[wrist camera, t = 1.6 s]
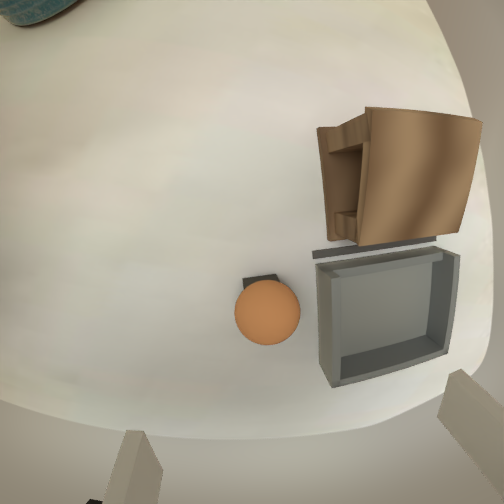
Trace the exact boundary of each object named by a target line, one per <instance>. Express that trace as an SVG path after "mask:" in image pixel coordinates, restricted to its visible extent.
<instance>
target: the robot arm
mask: <svg viewBox="0 0 504 504" xmlns="http://www.w3.org/2000/svg"><path fill="white" fill-rule="evenodd" d="M437 418H438V419H439V420H440V421H441V422H442V423H443V425H444V426H445V427H446V429H447V430H448V431H449V432H450V434H451V435H452V436H453V437H454V438H455V440H456V441H457V442H458V443H459V445H460V446H461V447H462V448H463V450H464V451H465V452H466V453H467V455H468V456H469V457H470V458H471V460H472V461H473V462H474V464H475V465H476V466H477V467H478V469H479V470H480V471H481V473H482V474H483V475H484V476H485V478H486V479H487V480H488V482H489V483H490V484H491V486H492V487H493V488H494V489H495V491H496V492H497V493H498V495H499V496H500V497H501V499H502V500H503V501H504V407H503V406H502V405H501V404H500V403H499V402H497V401H496V400H495V399H494V398H493V397H492V396H491V395H490V394H489V393H488V392H487V391H485V390H484V389H483V388H482V387H481V386H480V385H479V384H478V383H477V382H475V381H474V380H473V379H472V378H471V377H470V376H469V375H468V374H467V373H465V372H464V371H463V370H462V369H460V370H457V371H455V372H453V373H450V374H449V377H448V381H447V385H446V388H445V392H444V396H443V399H442V403H441V406H440V409H439V412H438V415H437ZM162 474H163V469H162V467H161V465H160V463H159V461H158V459H157V457H156V455H155V453H154V451H153V449H152V447H151V445H150V443H149V441H148V439H147V437H146V435H145V433H144V431H131V430H126V433H125V436H124V439H123V442H122V445H121V447H120V451H119V453H118V456H117V459H116V462H115V465H114V468H113V471H112V474H111V477H110V480H109V483H108V486H107V489H106V493H105V496H104V499H103V501H98V500H93V499H90V500H89V501H88V502H87V503H86V504H157V503H158V497H159V491H160V486H161V480H162Z"/></svg>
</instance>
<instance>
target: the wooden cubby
mask: <svg viewBox="0 0 504 504" xmlns="http://www.w3.org/2000/svg"><path fill="white" fill-rule="evenodd" d="M482 123H483V122H481V121H479V120H477V119H475V118H470V117H464V116H457V115H451V114H444V113H436V112H428V111H418V110H408V109H395V108H380V107H365V113H364V114H362V115H360V116H358V117H356V118H354V119H352V120H350V121H347V122H345V123H343V124H341V125H339V126H337V127H319V128H317V136H318V144H319V152H320V161H321V170H322V179H323V189H324V200H325V212H326V225H327V239H328V240H329V241H337V240H345V239H349V240H351V241H353V242H355V243H357V244H358V246H366V245H374V244H381V243H388V242H395V241H402V240H409V239H416V238H423V237H430V236H437V235H444V234H450V233H457V232H458V231H459V228H460V225H461V221H462V218H463V214H464V211H465V207H466V204H467V200H468V196H469V192H470V188H471V183H472V179H473V175H474V170H475V165H476V160H477V155H478V149H479V143H480V137H481V129H482Z"/></svg>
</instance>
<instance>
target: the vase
mask: <svg viewBox="0 0 504 504" xmlns="http://www.w3.org/2000/svg"><path fill="white" fill-rule="evenodd" d="M76 1H78V0H0V15H1V16H3V18H4V19H6V20H7V21H8V22H10V23H11V24H14V25H19V26H22V25H31V24H34V23H37V22H40V21H43V20H45V19H48V18H50V17H52V16H54V15H56V14H57V13H59V12H61V11H63V10H64V9H66V8H68V7H69V6H70V5H72V4H73V3H75V2H76Z"/></svg>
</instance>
